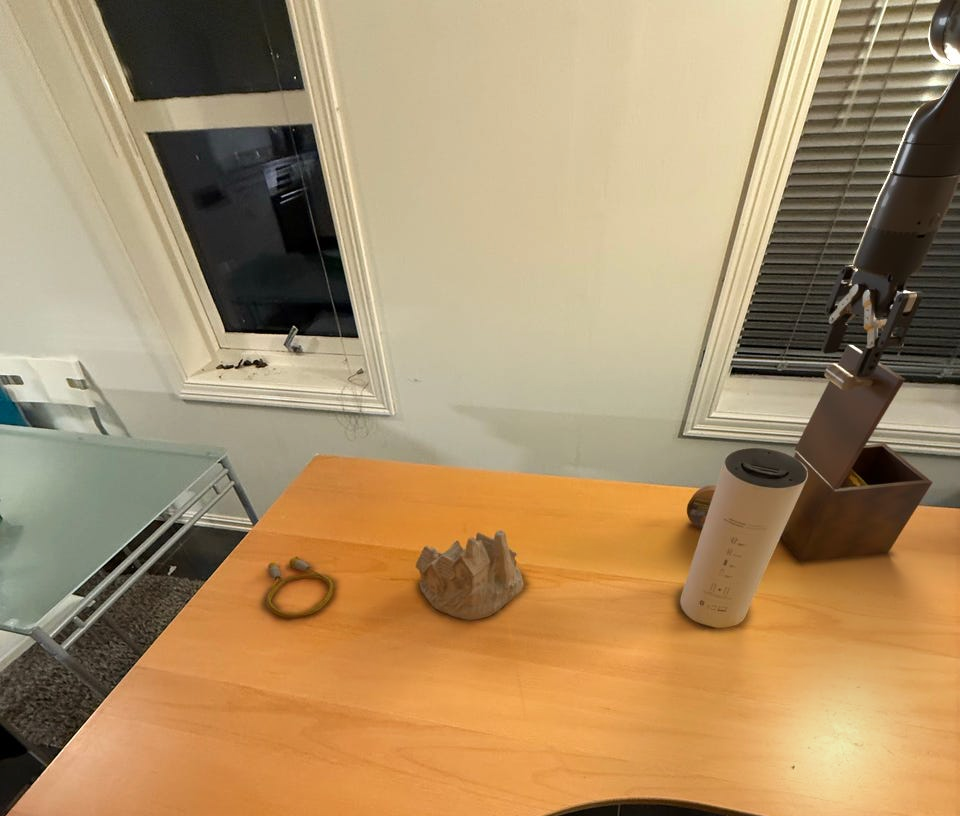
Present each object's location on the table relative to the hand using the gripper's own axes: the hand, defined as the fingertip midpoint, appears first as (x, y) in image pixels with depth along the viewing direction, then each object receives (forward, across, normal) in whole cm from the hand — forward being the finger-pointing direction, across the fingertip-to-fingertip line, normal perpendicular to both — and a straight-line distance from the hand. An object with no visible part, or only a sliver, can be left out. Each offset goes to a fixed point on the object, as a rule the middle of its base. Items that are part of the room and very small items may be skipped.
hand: (844, 363), depth 77 cm
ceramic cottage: (+32, +4, -55) cm, 64 cm away
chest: (+32, 0, +11) cm, 33 cm away
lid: (+8, 0, +4) cm, 9 cm away
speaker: (+32, +15, -16) cm, 39 cm away
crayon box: (+31, 0, +12) cm, 33 cm away
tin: (+32, -5, -6) cm, 33 cm away
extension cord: (+32, 0, -86) cm, 92 cm away
